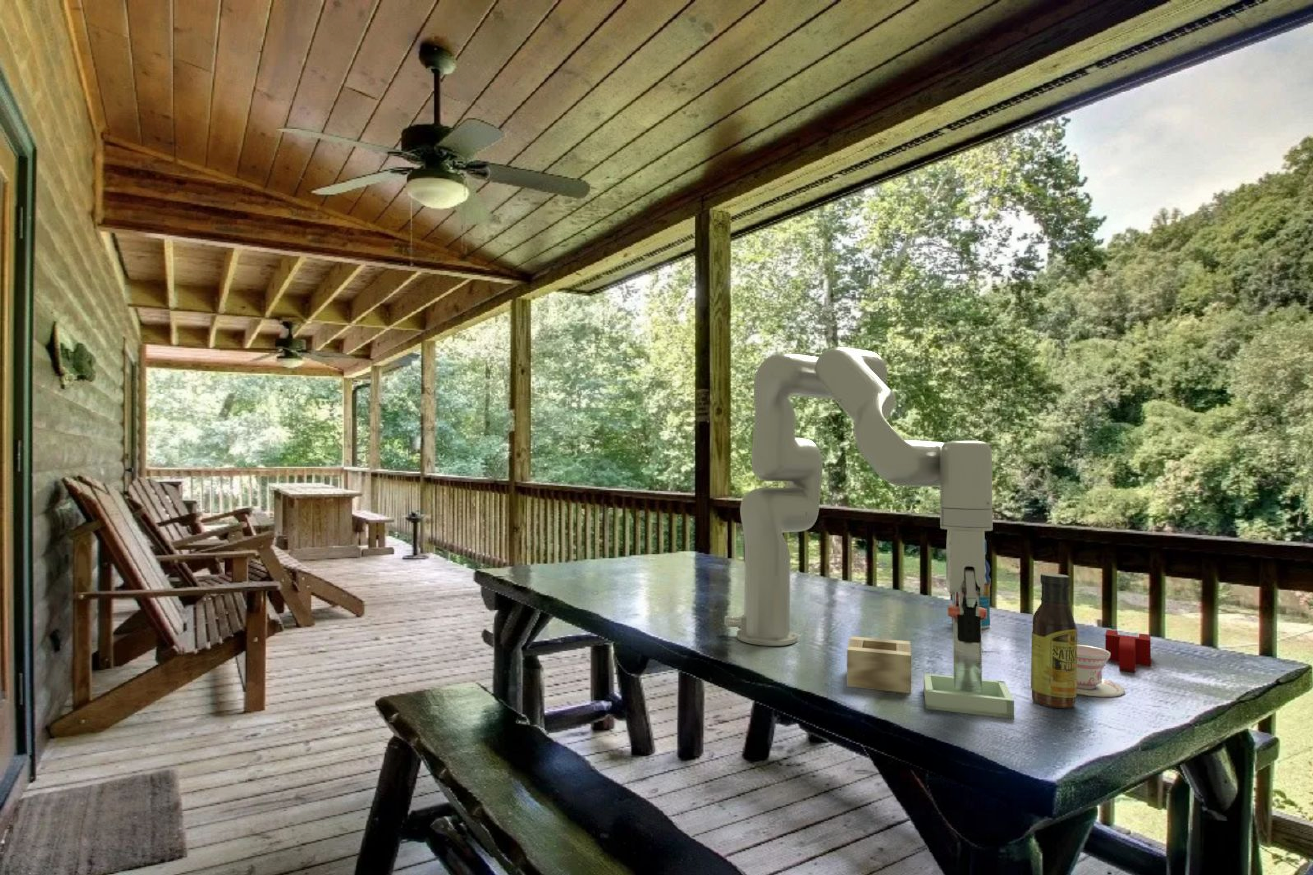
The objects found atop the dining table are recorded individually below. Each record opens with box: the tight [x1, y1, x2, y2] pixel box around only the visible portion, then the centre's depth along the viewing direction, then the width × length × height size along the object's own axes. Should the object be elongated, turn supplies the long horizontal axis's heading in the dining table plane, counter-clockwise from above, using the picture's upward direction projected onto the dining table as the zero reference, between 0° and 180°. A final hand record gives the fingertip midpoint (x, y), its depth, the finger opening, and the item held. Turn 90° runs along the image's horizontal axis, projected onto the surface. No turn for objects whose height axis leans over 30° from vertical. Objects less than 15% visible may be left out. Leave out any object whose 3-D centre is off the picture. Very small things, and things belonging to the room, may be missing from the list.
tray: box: [923, 673, 1015, 720], centre depth 111 cm, size 12×10×3 cm
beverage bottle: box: [951, 539, 992, 630], centre depth 166 cm, size 8×8×20 cm
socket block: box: [846, 636, 912, 694], centre depth 121 cm, size 10×10×6 cm
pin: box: [947, 604, 987, 692], centre depth 111 cm, size 6×6×12 cm
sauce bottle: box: [1030, 572, 1078, 709], centre depth 111 cm, size 7×6×20 cm
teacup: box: [1077, 644, 1126, 698], centre depth 120 cm, size 12×12×6 cm
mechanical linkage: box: [1104, 629, 1152, 673], centre depth 135 cm, size 16×7×5 cm, turn 146°
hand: (967, 635), depth 111 cm, fingers closed on pin, 5 cm apart
